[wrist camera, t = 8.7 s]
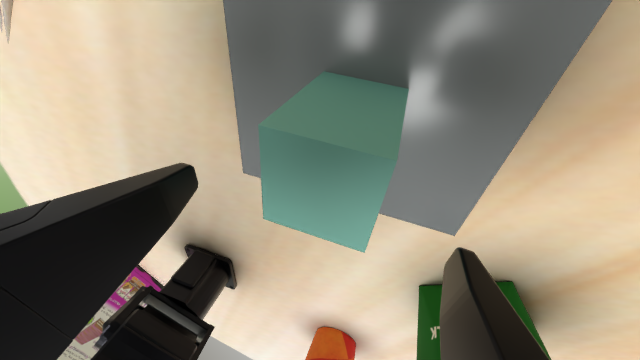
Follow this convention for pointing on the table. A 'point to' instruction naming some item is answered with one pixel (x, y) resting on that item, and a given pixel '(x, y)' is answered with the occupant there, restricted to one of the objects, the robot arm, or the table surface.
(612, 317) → the table surface
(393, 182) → the board
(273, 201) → the block
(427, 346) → the milk carton
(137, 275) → the candy bar box
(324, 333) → the paper cup
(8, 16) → the tweezers
